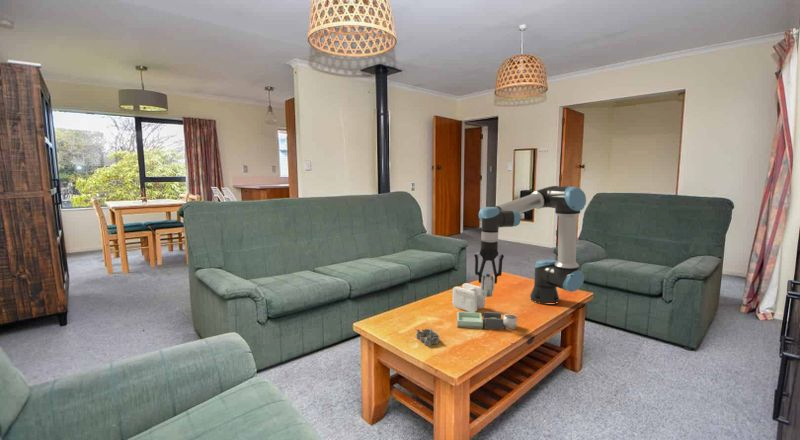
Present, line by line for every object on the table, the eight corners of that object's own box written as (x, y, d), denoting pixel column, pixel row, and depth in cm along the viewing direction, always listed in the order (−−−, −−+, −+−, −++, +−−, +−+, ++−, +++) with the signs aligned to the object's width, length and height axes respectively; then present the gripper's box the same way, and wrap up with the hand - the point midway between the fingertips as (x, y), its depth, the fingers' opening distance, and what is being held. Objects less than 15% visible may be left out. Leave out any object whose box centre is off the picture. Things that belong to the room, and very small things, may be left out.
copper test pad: (496, 319, 175) (496, 317, 174) (497, 322, 171) (497, 320, 171) (488, 319, 175) (489, 317, 175) (489, 322, 172) (489, 320, 171)
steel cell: (491, 293, 174) (492, 273, 173) (492, 296, 169) (493, 275, 168) (481, 293, 174) (482, 272, 173) (482, 296, 170) (483, 275, 169)
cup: (515, 324, 174) (515, 314, 173) (517, 330, 168) (518, 319, 167) (502, 323, 175) (502, 313, 174) (504, 329, 169) (504, 318, 168)
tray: (480, 318, 181) (480, 312, 180) (482, 328, 169) (482, 322, 169) (456, 317, 182) (457, 311, 182) (457, 326, 171) (457, 320, 171)
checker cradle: (500, 321, 177) (500, 311, 177) (503, 329, 168) (503, 319, 168) (483, 320, 178) (483, 310, 178) (485, 328, 169) (485, 318, 169)
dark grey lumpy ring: (414, 337, 161) (414, 328, 160) (429, 334, 164) (429, 325, 163) (425, 347, 151) (425, 338, 151) (441, 344, 154) (441, 335, 154)
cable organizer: (486, 310, 192) (487, 288, 191) (474, 315, 185) (474, 292, 184) (463, 302, 203) (464, 282, 202) (451, 307, 196) (451, 286, 195)
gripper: (507, 239, 171) (505, 288, 174) (469, 238, 173) (467, 286, 176) (510, 242, 164) (507, 293, 167) (470, 241, 166) (468, 291, 169)
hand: (487, 289), depth 172 cm, fingers closed on steel cell, 4 cm apart
